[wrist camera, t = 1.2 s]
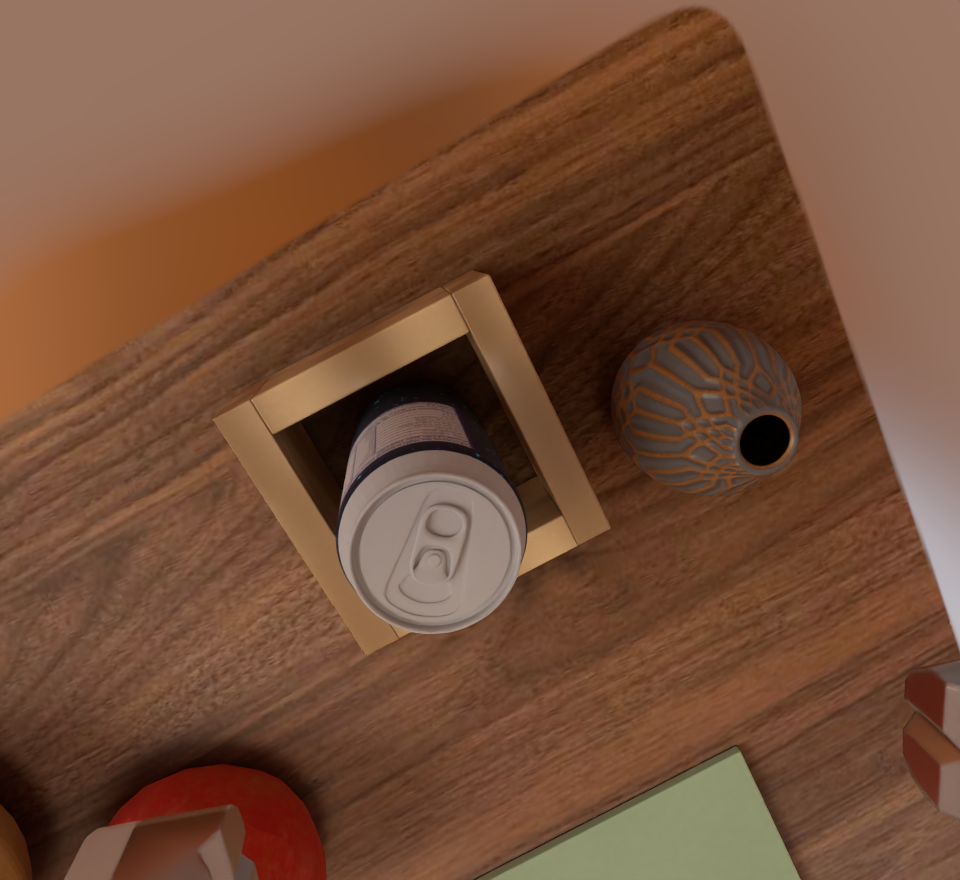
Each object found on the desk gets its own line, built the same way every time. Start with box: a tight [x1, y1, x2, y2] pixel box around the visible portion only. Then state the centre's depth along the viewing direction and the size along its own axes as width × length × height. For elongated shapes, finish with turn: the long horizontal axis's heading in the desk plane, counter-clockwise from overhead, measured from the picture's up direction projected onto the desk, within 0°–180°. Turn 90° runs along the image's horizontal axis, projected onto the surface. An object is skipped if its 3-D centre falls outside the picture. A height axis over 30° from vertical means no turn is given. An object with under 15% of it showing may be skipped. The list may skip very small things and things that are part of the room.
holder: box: [213, 270, 611, 655], centre depth 29 cm, size 11×11×5 cm
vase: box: [611, 320, 802, 496], centre depth 28 cm, size 7×7×9 cm
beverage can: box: [336, 382, 527, 634], centre depth 25 cm, size 6×6×12 cm
